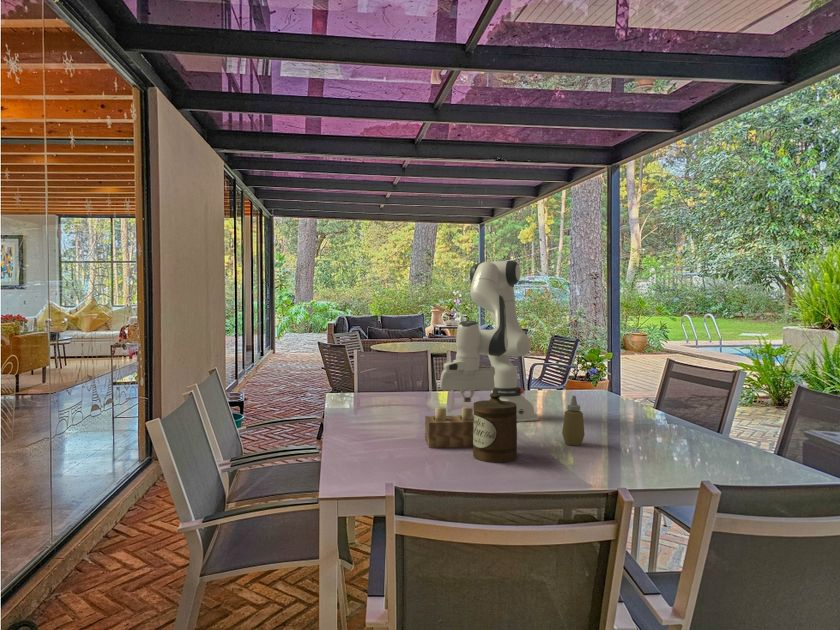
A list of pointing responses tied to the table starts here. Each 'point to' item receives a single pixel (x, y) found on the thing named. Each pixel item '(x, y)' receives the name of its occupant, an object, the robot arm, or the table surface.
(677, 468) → the table surface
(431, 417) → the socket block
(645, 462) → the table surface
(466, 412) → the peg
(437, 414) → the peg
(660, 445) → the table surface
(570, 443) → the squeeze bottle
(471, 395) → the robot arm
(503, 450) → the wooden container
